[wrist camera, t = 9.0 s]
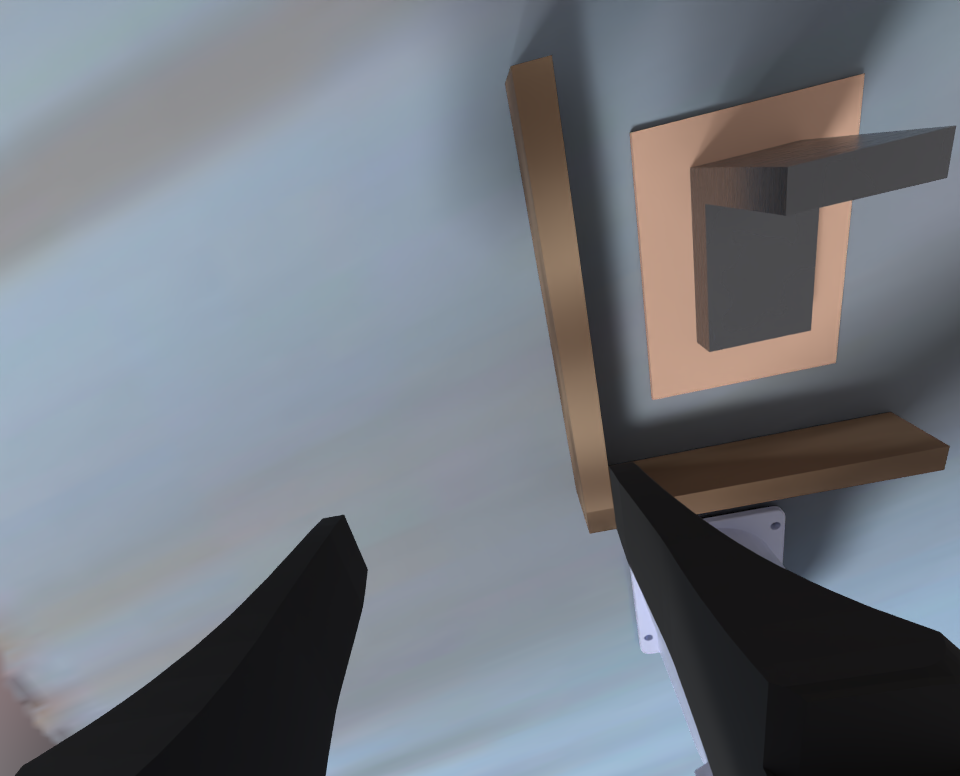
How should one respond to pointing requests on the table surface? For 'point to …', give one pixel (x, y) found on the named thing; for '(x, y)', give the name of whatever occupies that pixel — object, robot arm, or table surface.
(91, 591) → the table surface
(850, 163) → the angle bracket
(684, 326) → the mat
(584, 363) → the corner walls
